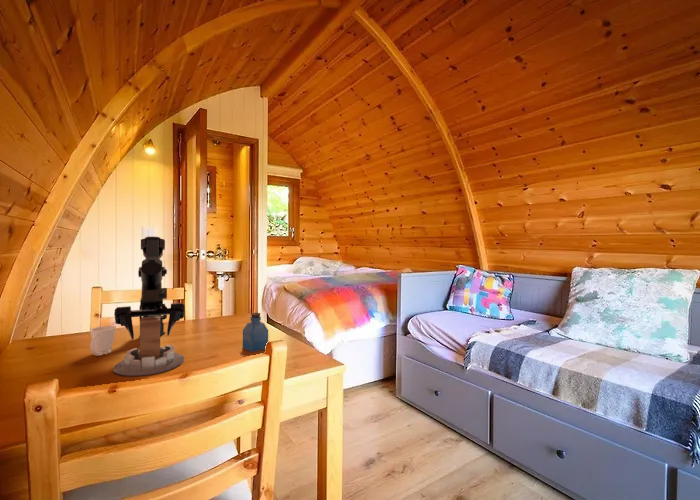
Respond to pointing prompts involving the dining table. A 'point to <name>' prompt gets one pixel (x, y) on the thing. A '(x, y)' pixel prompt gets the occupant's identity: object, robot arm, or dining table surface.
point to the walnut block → (150, 337)
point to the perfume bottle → (255, 334)
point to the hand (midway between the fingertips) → (150, 336)
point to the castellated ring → (148, 363)
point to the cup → (102, 339)
